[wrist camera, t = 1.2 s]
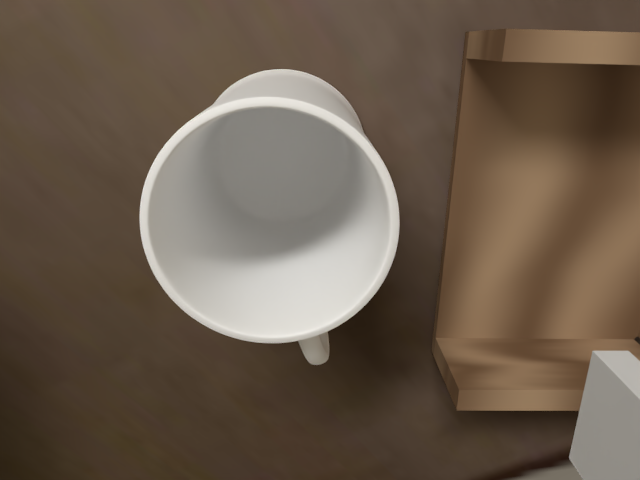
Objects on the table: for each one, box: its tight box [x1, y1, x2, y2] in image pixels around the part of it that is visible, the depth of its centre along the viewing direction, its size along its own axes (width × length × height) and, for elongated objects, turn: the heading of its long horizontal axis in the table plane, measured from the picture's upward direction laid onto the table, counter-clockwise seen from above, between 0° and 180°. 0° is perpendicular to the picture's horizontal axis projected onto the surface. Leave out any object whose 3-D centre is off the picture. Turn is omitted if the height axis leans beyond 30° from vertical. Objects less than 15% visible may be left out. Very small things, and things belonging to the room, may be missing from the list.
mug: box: [140, 69, 400, 365], centre depth 23 cm, size 12×8×12 cm
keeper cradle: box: [431, 29, 640, 411], centre depth 26 cm, size 13×18×9 cm
